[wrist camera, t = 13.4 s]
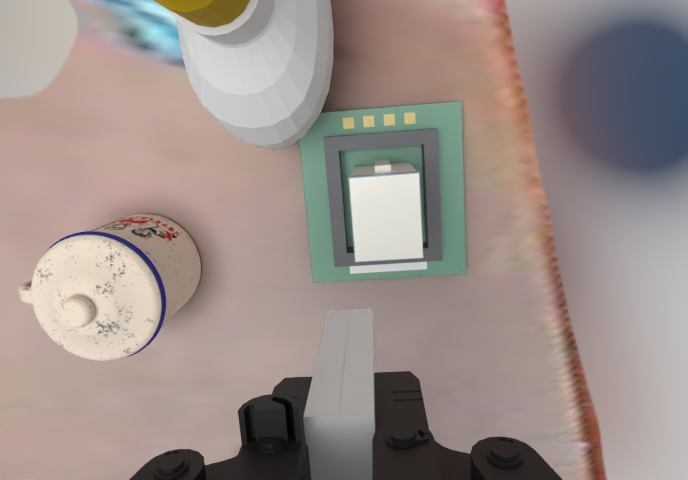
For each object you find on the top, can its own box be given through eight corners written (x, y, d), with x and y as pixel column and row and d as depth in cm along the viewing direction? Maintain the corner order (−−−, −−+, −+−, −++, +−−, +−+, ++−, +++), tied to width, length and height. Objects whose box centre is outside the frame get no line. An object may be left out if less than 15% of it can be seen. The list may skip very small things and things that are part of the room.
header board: (462, 268, 42) (470, 281, 38) (315, 277, 42) (310, 291, 39) (458, 101, 39) (466, 100, 35) (299, 115, 40) (292, 114, 36)
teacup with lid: (196, 205, 42) (130, 237, 30) (212, 311, 44) (156, 378, 32) (54, 217, 43) (-62, 252, 31) (77, 320, 45) (-24, 389, 33)
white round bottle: (356, 141, 40) (326, 177, 14) (241, 146, 40) (18, 188, 15) (349, -65, 37) (294, -485, 11) (225, -57, 37) (-96, -440, 12)
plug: (412, 227, 40) (423, 258, 31) (359, 231, 40) (354, 262, 31) (408, 155, 38) (419, 166, 30) (353, 160, 39) (347, 171, 30)
